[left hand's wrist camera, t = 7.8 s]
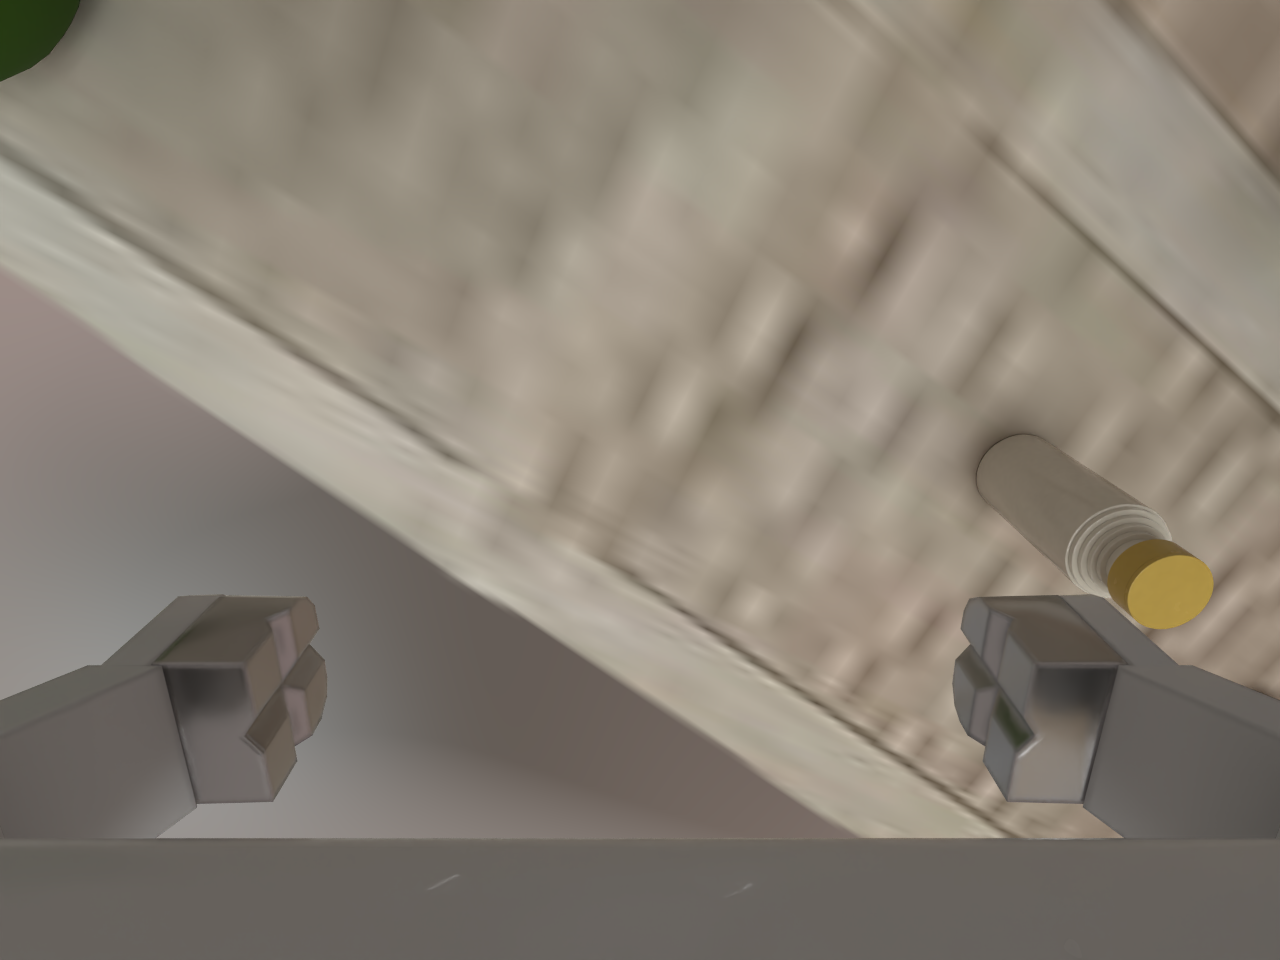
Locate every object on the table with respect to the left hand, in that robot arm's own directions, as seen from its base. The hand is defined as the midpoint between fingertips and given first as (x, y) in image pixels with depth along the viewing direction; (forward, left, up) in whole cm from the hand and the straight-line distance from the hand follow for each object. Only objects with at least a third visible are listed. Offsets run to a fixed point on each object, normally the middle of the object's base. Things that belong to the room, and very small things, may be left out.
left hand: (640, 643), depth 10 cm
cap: (+16, +29, -30) cm, 44 cm away
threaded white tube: (+16, +29, -48) cm, 58 cm away
